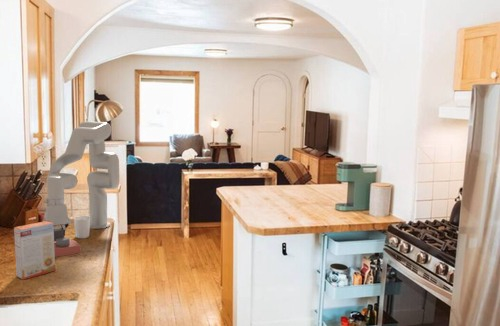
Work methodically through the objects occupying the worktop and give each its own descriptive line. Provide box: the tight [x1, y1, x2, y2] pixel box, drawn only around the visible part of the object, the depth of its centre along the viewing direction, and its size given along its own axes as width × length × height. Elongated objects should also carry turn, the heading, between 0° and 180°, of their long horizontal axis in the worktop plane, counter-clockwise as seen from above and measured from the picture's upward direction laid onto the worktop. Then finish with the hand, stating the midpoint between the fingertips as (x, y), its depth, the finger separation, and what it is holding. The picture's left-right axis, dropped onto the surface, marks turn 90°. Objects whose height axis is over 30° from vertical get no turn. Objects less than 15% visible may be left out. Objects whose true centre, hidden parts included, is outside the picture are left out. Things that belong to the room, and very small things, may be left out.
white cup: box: [73, 215, 91, 239], centre depth 250 cm, size 8×8×10 cm
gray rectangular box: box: [54, 226, 65, 242], centre depth 231 cm, size 7×5×5 cm
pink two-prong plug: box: [54, 236, 82, 258], centre depth 227 cm, size 17×14×6 cm
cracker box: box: [13, 221, 56, 280], centre depth 196 cm, size 14×6×21 cm, turn 141°
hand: (56, 237), depth 231 cm, fingers closed on gray rectangular box, 5 cm apart
